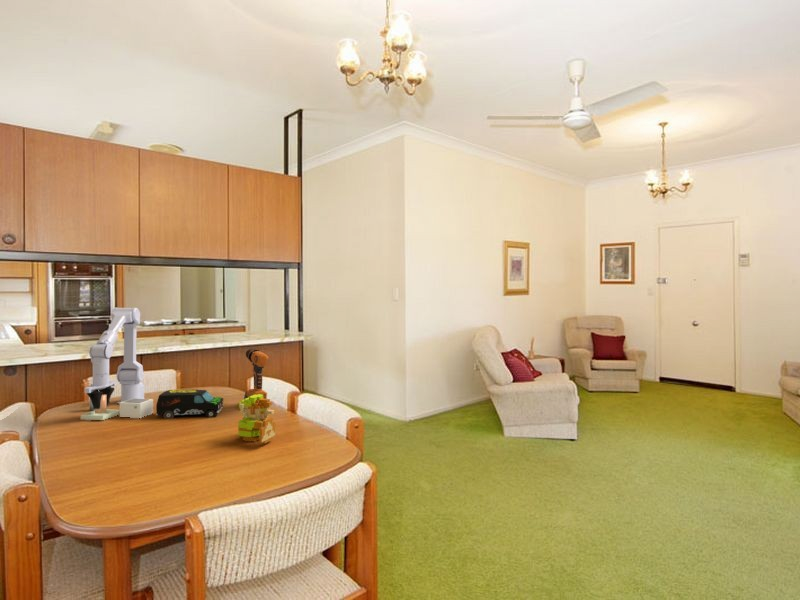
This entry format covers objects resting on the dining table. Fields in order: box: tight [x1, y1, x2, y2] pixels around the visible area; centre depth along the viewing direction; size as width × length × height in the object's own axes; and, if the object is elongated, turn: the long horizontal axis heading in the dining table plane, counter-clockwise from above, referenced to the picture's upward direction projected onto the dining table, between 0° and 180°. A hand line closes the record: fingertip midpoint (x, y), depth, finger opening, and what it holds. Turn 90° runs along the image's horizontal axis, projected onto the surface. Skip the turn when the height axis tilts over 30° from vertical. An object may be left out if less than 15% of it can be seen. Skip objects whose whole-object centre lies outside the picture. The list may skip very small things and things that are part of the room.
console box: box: [119, 398, 154, 419], centre depth 192 cm, size 8×9×6 cm
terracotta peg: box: [95, 394, 108, 414], centre depth 189 cm, size 4×4×7 cm
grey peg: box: [89, 398, 95, 412], centre depth 200 cm, size 4×4×7 cm
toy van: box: [155, 389, 224, 419], centre depth 194 cm, size 11×25×10 cm, turn 100°
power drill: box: [243, 348, 270, 400], centre depth 213 cm, size 22×7×25 cm, turn 35°
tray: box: [80, 408, 120, 421], centre depth 189 cm, size 10×10×2 cm
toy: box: [237, 394, 276, 444], centre depth 164 cm, size 15×14×15 cm
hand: (100, 407), depth 189 cm, fingers closed on terracotta peg, 4 cm apart
